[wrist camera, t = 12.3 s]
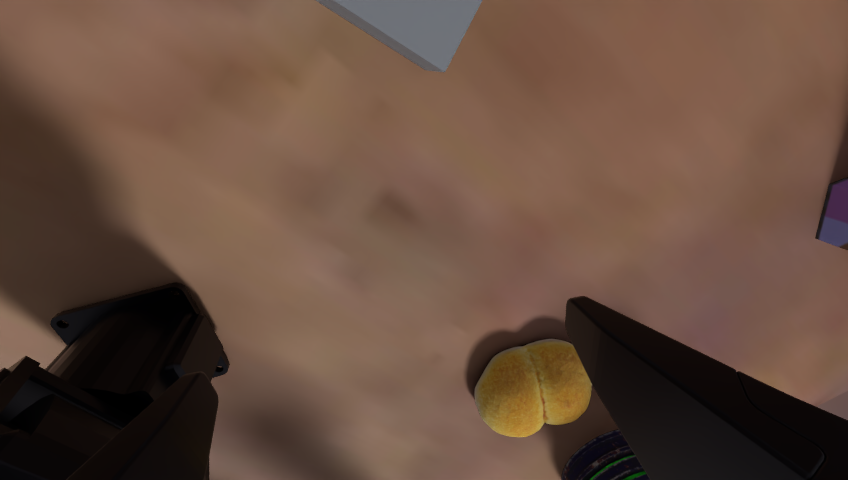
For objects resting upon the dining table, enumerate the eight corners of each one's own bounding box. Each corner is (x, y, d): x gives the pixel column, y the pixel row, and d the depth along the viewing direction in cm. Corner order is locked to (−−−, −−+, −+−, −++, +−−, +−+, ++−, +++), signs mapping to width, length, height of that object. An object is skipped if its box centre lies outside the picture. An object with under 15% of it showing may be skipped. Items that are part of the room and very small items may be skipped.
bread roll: (464, 355, 27) (483, 399, 24) (576, 321, 28) (610, 358, 25) (477, 427, 31) (495, 474, 28) (575, 395, 32) (605, 436, 29)
